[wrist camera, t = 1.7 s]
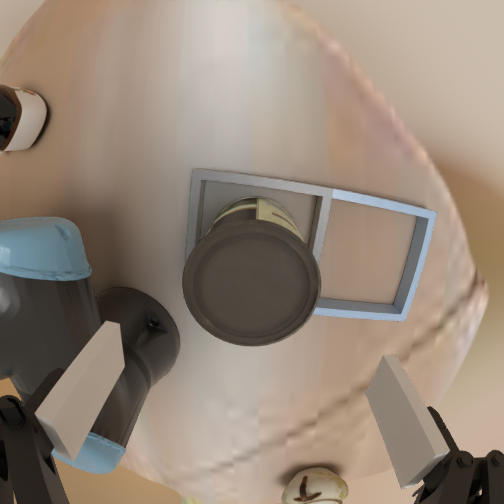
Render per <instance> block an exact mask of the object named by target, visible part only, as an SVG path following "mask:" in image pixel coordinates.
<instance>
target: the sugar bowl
mask: <svg viewBox="0 0 504 504" xmlns="http://www.w3.org/2000/svg"><path fill="white" fill-rule="evenodd" d="M347 496H348V486H347V484H346V482H345V481H344V480H343V479H342V478H340V477H339V476H337V475H336V474H334V473H333V472H331V471H330V470H328V469H326V468H321V467H316V468H309V469H305V470H302V471H300V472H298V473H297V474H296V475H295V477H294V478H293V479H292V480H291V482H290V483H289V484H288V485H287V487H286V488H285V490H284V492H283V494H282V504H342V503H343V502H344V501H345V500H346V498H347Z"/></svg>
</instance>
